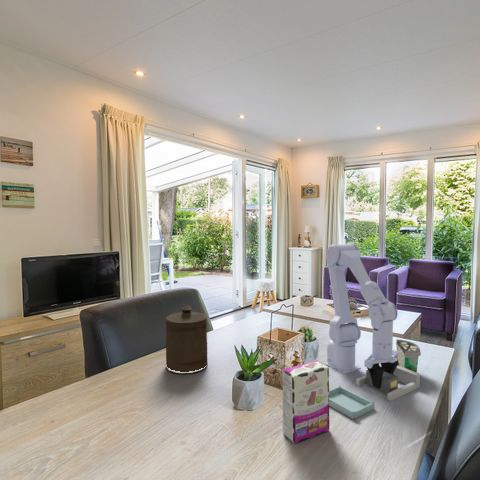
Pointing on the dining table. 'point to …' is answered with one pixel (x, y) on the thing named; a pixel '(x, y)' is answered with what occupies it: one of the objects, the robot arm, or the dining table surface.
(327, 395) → the candy bar box
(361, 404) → the tray
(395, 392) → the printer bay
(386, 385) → the grey rectangular block
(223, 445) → the dining table surface
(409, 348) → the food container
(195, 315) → the wooden container
